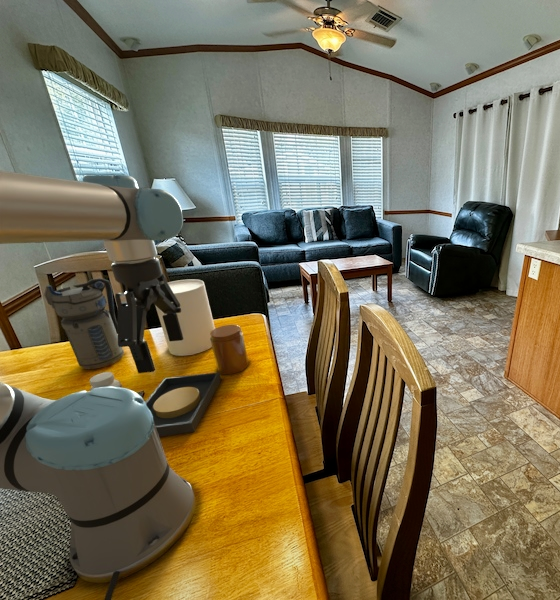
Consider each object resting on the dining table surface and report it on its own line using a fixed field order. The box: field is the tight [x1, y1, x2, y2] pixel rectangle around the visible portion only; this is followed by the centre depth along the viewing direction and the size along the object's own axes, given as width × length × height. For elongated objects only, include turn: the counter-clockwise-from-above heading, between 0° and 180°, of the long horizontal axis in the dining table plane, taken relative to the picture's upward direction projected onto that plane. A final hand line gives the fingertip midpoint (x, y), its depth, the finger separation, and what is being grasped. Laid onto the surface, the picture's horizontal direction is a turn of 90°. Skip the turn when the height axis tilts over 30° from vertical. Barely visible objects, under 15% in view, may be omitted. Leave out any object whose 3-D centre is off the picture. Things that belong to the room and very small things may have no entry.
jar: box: [210, 324, 250, 375], centre depth 92 cm, size 8×8×12 cm
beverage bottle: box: [43, 277, 125, 370], centre depth 92 cm, size 10×13×25 cm
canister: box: [154, 278, 216, 357], centre depth 102 cm, size 14×14×20 cm
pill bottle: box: [89, 371, 123, 391], centre depth 74 cm, size 5×5×10 cm
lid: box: [153, 387, 201, 418], centre depth 77 cm, size 9×9×2 cm
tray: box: [145, 371, 222, 438], centre depth 77 cm, size 19×13×2 cm
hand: (163, 354), depth 71 cm, fingers open, 13 cm apart
